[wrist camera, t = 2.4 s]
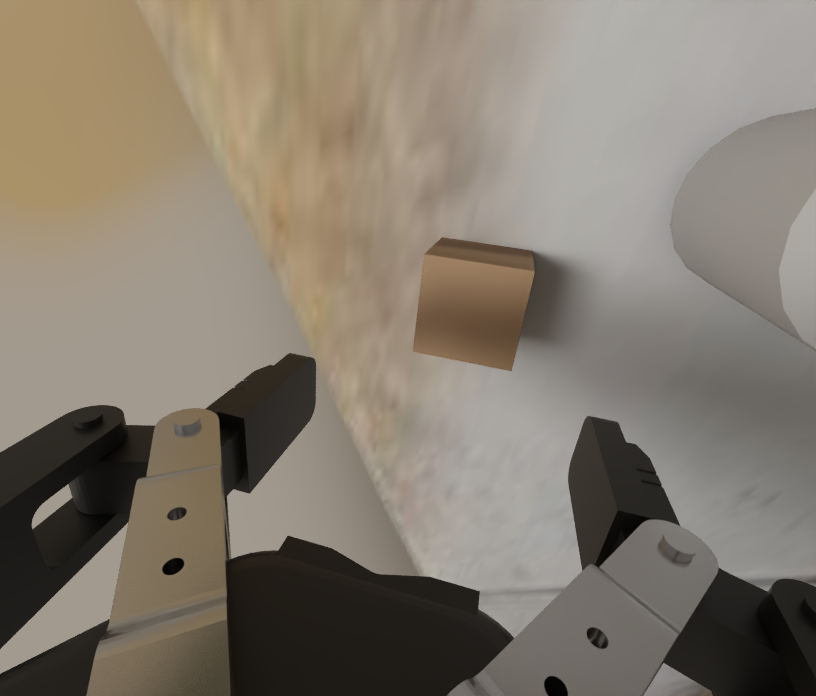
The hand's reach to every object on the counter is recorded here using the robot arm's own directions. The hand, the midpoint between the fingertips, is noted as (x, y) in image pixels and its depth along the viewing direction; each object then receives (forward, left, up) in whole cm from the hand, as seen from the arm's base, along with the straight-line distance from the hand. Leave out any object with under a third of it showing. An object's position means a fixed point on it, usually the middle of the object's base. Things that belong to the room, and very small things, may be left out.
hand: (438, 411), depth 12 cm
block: (0, 0, -14) cm, 14 cm away
